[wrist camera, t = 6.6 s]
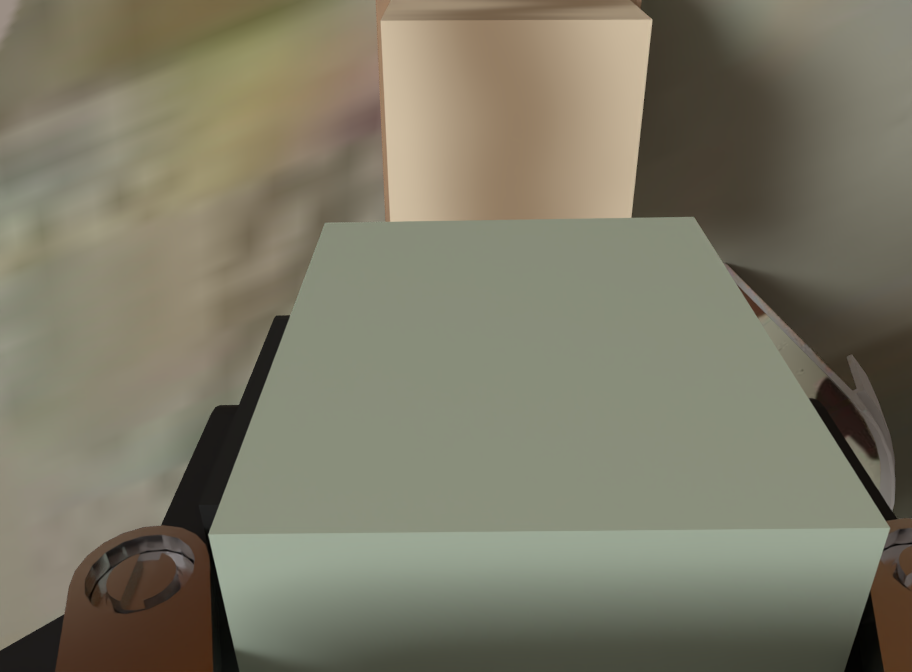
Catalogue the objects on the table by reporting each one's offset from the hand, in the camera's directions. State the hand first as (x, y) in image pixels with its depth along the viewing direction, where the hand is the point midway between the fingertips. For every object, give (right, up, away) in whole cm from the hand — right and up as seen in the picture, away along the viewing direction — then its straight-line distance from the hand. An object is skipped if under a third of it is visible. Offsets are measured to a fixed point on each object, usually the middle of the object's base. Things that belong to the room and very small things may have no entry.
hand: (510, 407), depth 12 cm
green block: (0, 0, +1) cm, 1 cm away
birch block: (+1, +7, +11) cm, 14 cm away
